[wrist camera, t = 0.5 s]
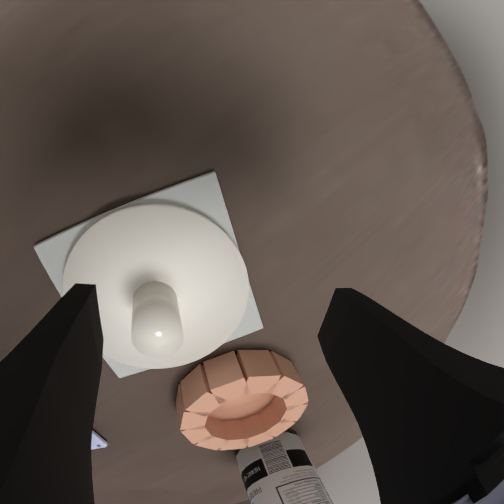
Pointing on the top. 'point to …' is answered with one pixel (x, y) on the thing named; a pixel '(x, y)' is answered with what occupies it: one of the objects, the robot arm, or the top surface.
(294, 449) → the supplement can
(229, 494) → the top surface
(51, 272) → the mat
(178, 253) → the lid
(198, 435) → the bowl
